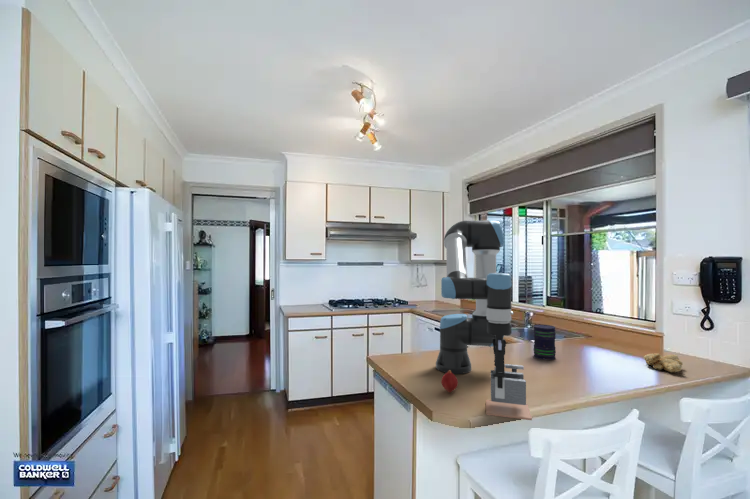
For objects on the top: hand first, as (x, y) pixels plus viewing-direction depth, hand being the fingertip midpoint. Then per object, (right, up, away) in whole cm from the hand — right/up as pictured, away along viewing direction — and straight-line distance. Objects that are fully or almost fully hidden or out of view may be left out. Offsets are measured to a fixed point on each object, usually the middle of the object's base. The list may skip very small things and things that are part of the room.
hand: (499, 392), depth 116 cm
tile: (+2, -5, -1) cm, 6 cm away
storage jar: (+43, -7, +62) cm, 76 cm away
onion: (-13, -6, +14) cm, 20 cm away
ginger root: (+87, -7, +44) cm, 98 cm away
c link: (+2, -1, -1) cm, 3 cm away
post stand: (+9, -6, +12) cm, 16 cm away
